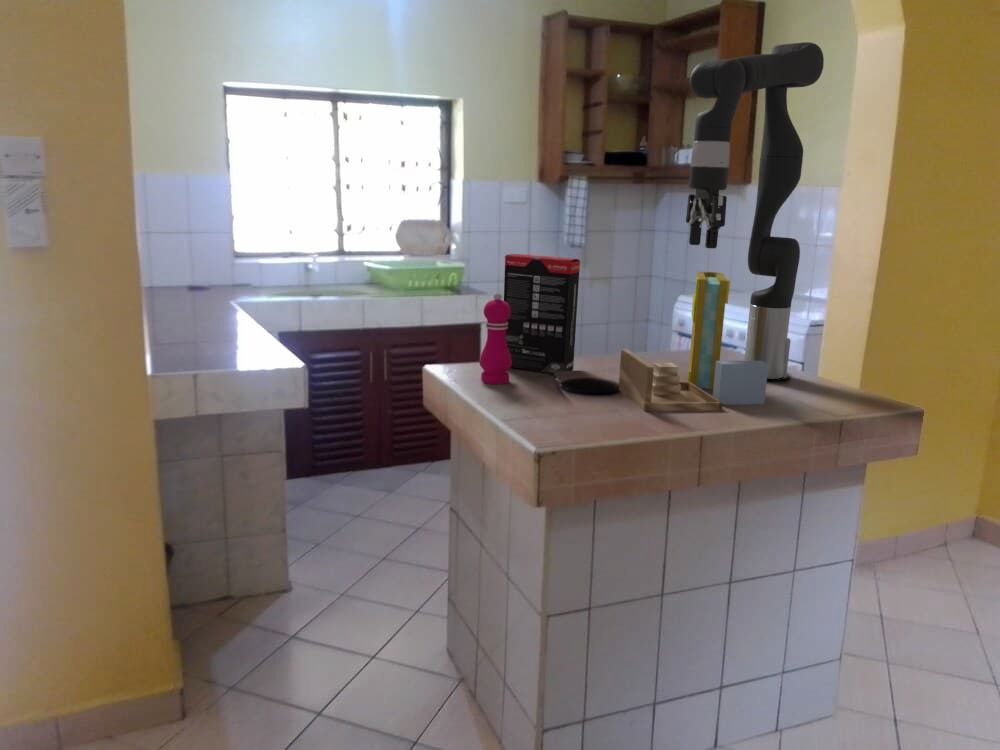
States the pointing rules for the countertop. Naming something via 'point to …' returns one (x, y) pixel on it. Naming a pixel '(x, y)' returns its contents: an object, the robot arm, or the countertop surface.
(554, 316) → the graphics card box
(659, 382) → the offcut middle
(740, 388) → the block
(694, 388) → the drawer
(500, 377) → the pepper mill
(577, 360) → the countertop surface
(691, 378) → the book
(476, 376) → the countertop surface
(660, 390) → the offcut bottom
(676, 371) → the offcut top
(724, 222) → the robot arm
